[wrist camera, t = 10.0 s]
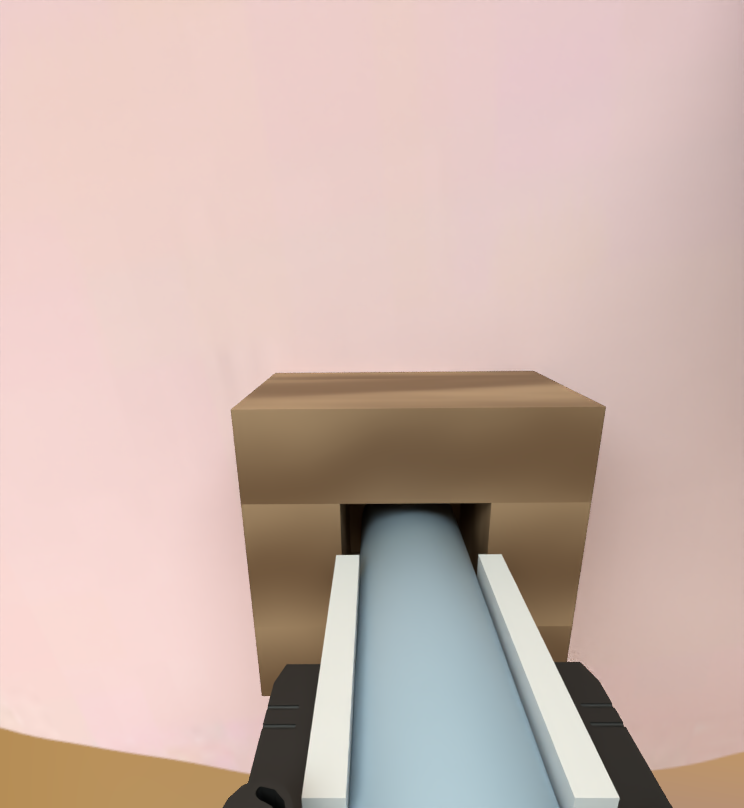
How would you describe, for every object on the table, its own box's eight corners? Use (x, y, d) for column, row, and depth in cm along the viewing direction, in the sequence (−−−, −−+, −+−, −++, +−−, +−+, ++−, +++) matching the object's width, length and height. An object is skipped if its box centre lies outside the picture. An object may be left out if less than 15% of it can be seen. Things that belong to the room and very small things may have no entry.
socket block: (275, 373, 19) (230, 409, 13) (533, 370, 19) (605, 406, 13) (291, 589, 22) (261, 695, 16) (511, 588, 22) (561, 695, 16)
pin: (361, 480, 17) (308, 1237, 3) (456, 479, 17) (787, 1241, 3) (362, 562, 18) (326, 1381, 4) (452, 561, 18) (690, 1386, 4)
